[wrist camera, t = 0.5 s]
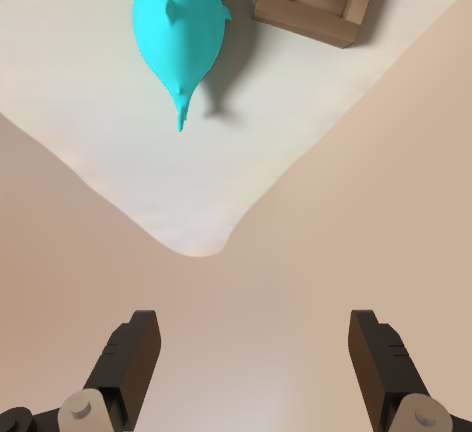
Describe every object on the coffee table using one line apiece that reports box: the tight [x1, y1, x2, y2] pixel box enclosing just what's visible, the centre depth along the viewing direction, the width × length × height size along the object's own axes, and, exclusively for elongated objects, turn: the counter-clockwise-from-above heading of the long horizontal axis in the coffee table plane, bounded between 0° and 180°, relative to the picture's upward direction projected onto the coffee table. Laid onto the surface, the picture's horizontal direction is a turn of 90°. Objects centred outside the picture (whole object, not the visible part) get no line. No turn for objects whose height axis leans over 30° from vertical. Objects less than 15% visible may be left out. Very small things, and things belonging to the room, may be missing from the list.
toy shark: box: [133, 0, 232, 132], centre depth 29 cm, size 10×18×11 cm, turn 0°
